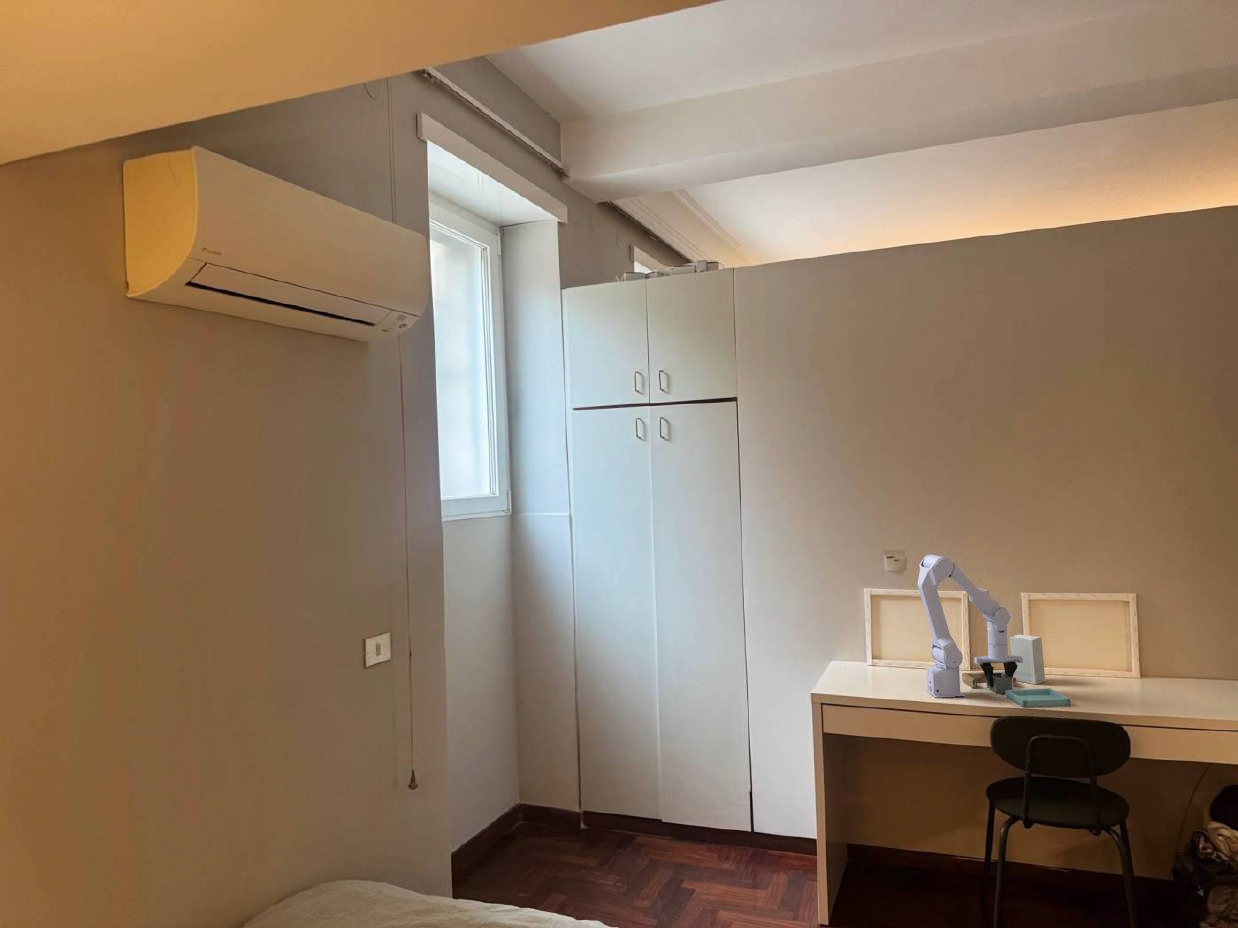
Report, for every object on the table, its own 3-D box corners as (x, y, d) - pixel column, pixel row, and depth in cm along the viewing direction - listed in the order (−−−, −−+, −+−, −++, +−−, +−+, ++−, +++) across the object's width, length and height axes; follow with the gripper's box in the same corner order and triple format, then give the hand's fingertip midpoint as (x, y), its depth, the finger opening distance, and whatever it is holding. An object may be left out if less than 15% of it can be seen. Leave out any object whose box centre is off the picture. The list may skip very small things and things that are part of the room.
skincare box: (1045, 681, 273) (1043, 636, 273) (1035, 685, 270) (1033, 639, 270) (1021, 677, 280) (1019, 633, 280) (1011, 680, 277) (1009, 635, 277)
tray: (1023, 707, 247) (1023, 700, 247) (1005, 696, 259) (1004, 689, 259) (1070, 705, 247) (1070, 699, 247) (1050, 694, 259) (1050, 688, 259)
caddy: (996, 694, 261) (995, 678, 262) (986, 688, 268) (986, 672, 268) (1012, 693, 261) (1011, 677, 261) (1002, 687, 268) (1001, 672, 268)
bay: (972, 688, 269) (972, 679, 269) (962, 681, 277) (962, 672, 277) (1016, 687, 268) (1016, 677, 268) (1004, 680, 277) (1004, 671, 277)
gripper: (1014, 639, 269) (1016, 681, 269) (969, 641, 269) (971, 683, 269) (1025, 644, 262) (1026, 687, 262) (978, 646, 262) (980, 689, 262)
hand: (999, 685), depth 265 cm, fingers closed on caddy, 5 cm apart
